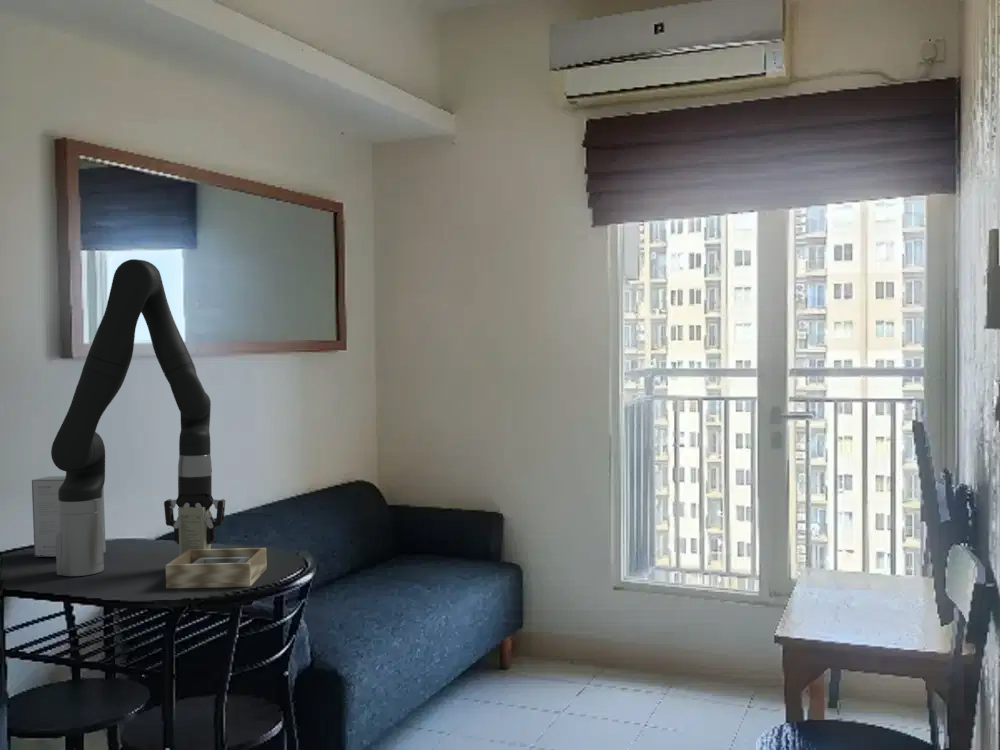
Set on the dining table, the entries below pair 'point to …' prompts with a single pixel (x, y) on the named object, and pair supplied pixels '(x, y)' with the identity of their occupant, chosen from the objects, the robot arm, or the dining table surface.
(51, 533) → the hard drive box
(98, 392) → the robot arm
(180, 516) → the skincare box
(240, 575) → the walled box
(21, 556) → the dining table surface
